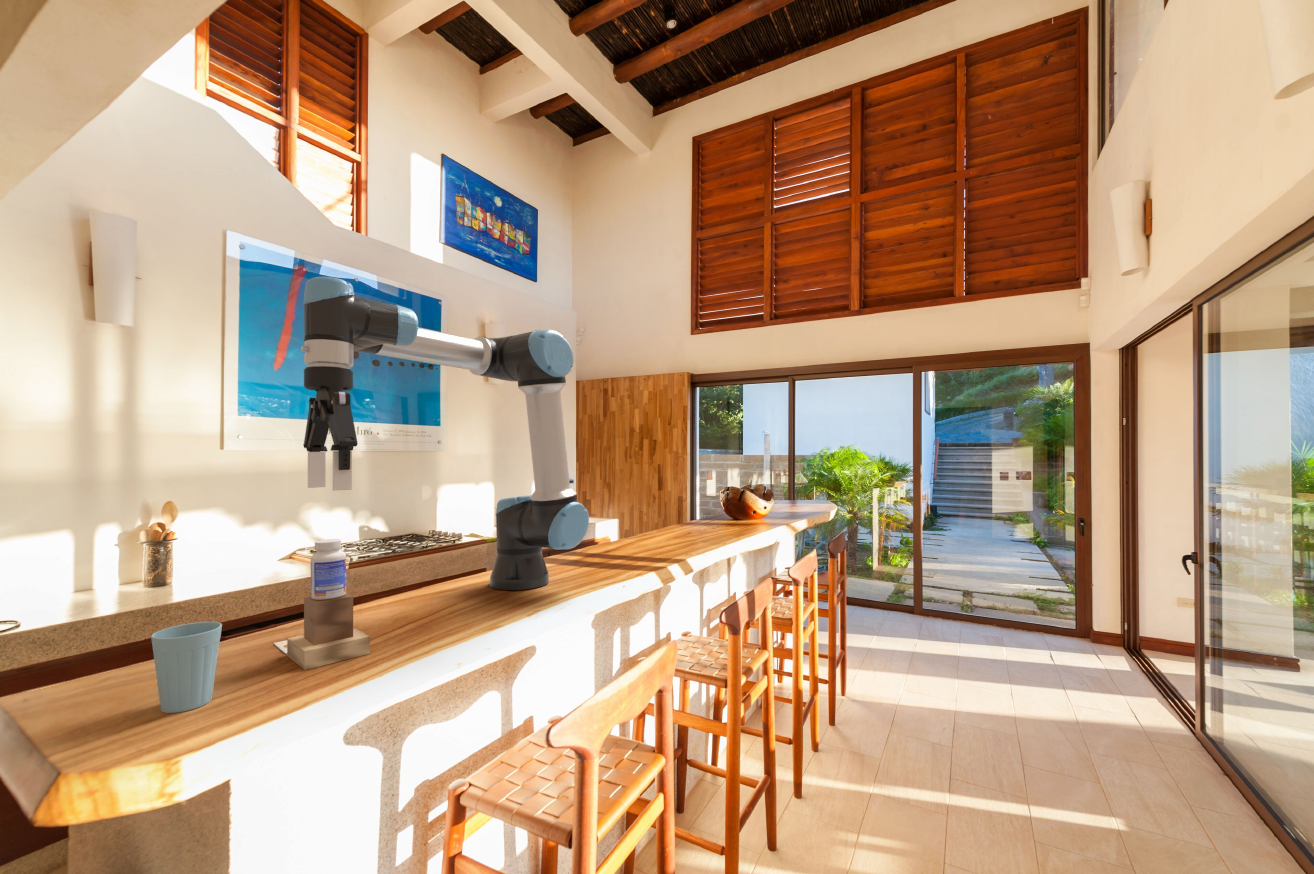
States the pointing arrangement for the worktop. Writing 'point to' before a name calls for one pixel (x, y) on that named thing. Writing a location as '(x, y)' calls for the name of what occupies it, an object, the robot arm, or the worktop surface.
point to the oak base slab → (327, 650)
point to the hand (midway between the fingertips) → (328, 488)
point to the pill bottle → (328, 570)
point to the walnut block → (328, 619)
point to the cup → (186, 664)
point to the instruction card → (282, 646)
